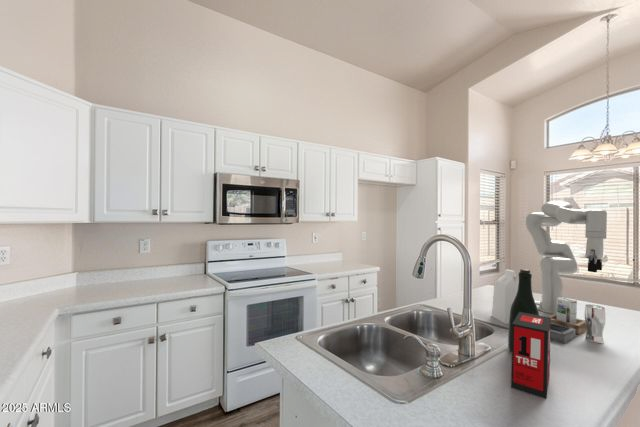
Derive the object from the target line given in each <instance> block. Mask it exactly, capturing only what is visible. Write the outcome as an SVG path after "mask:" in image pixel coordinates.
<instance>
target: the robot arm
mask: <svg viewBox="0 0 640 427" xmlns="http://www.w3.org/2000/svg"><path fill="white" fill-rule="evenodd" d="M540 209H541V212H538V211H537V212H531V213H528V214H527V216H526V217H525V227H526V229H527V231H528V232H529V234H530V235H531V237H532V239H533V242H534V244H535V247H536V250H537V252H538V254H539V255H540V256H541V257H542V256H543V258H541V259H540V262H539V266H540V271H541V301H539V300H535V303H536V305H537V308H538V311H540V312H542V313H547V314H550V315H553V314H557V298H563V280H562V278H561V277H560V274H563V275H564V274H565V275H567V274H568V275H571V274H575V273H576V272H577V271H578V263H577V261H576V258H575V256H574V253H573V252H572V248H571V247H570V245H569V244H568V243H567V242H565V241H562V240H553V239H552V238H551V237H550V234H549V232H548V231H547V230H545V228H543V227H558V226H559V225H561V224H562V223H564V224H568V225H569V224H571V225H585V230H584V231H585V233H584V234H585V236H584V237H585V239H586V244H585V246H586V247H585V255H584V256H585V259H587V260H588V261H587V272H591V273H598V271H602V270H603V262H602V261H603V258H604V240H605V239H607V226H608V223H607V222H608V218H607V217H608V213H607V211H606V210H605V209H596V208H595V209H589V208H588V209H587V208H583V209H581V208H580V209H578V208H573V206H572V204H570V202H567V201H547V202H545V203H543V204H542V206H541V208H540Z"/></svg>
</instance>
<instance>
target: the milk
mask: <svg viewBox="0 0 640 427" xmlns="http://www.w3.org/2000/svg"><path fill="white" fill-rule="evenodd" d="M518 283H519V277H518V278H517V275H516V271H515V270H512V269H505V270H504V274H502V275H501V276H500V277H499V278H498V279H496V280H495V281H494V283H493V284H494V285H493V297H492V298H493V299H492V309H491V311H492V313H491V316H492V317H493V318H495V319H496V320H498V321H499V322H502V323H503V324H504V325H509V315H510V308H511V305H512V303H513V301H514V299H515V296H516V294H517V291H518Z"/></svg>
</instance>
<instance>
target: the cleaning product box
mask: <svg viewBox="0 0 640 427" xmlns="http://www.w3.org/2000/svg"><path fill="white" fill-rule="evenodd" d="M550 326H551V317H548V316H545V315H540V314H539V315H535V314H529V313H524V312H519V313H518V315H517V317H516V318H515V320H514V322H513V323H512V352H511V367H510V368H511V370H510V371H511V373H510V374H511V375H510V377H511V378H510V388H511V389H514V390H516V391H520V392H523V393H526V394H528V395H532V396H536V397H538V398H541V399H544V400H546V399H548V398H547V397H548V391H549V384H550V382H549V381H550V375H551V374H550V371H551V370H550V367H551V366H550V365H551V340H550Z"/></svg>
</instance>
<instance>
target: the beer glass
mask: <svg viewBox="0 0 640 427" xmlns="http://www.w3.org/2000/svg"><path fill="white" fill-rule="evenodd" d="M606 314H607V313H606V308H605V307H604V306H601V305H596V304H589V303H587V304H585V307H584V320H585V323H586V328H587V331H586V334H585V340H587V341H588V342H591V343H595V344H604V342H605V341H604V340H605V339H604V336H603V335H604V329H605V325H606V320H607V318H606V317H607V316H606Z"/></svg>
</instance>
